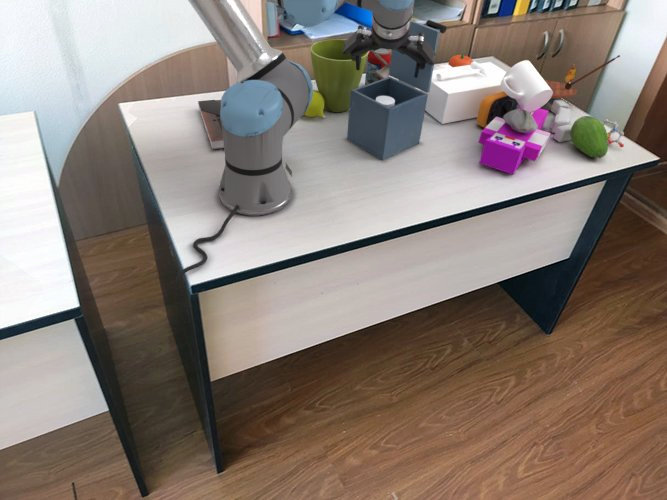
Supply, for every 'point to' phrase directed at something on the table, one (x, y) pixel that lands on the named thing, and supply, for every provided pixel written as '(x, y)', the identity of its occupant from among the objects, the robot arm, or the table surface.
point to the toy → (512, 143)
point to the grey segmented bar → (561, 121)
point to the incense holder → (569, 83)
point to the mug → (526, 86)
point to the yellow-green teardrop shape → (316, 105)
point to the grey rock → (520, 121)
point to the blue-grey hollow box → (386, 117)
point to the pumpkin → (460, 61)
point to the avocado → (590, 136)
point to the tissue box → (462, 90)
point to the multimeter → (495, 107)
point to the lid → (405, 66)
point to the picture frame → (212, 121)
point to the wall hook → (385, 70)
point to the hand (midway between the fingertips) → (387, 68)
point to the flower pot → (335, 73)
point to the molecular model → (614, 132)
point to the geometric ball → (442, 66)
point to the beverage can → (376, 64)
